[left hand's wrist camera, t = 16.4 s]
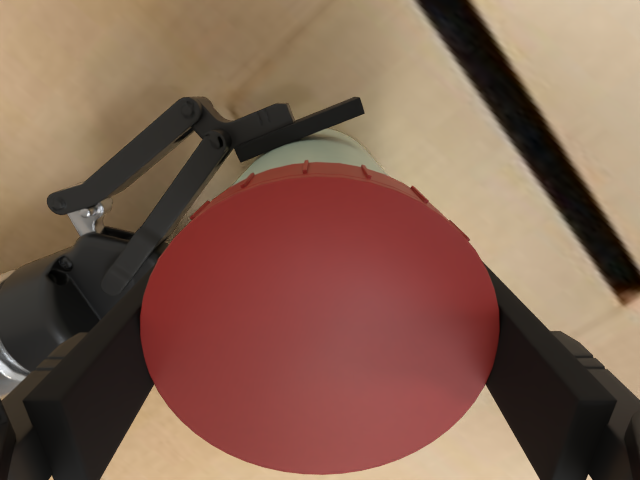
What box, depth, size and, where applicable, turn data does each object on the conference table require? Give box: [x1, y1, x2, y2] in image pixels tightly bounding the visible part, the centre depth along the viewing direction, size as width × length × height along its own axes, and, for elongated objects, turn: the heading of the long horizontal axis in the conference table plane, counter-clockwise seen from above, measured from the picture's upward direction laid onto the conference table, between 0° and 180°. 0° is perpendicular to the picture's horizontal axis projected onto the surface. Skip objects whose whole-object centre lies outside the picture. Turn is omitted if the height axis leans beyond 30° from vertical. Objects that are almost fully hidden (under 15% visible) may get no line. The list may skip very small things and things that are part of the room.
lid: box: [140, 160, 500, 475], centre depth 11 cm, size 10×10×2 cm
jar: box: [232, 129, 388, 186], centre depth 19 cm, size 10×10×15 cm
